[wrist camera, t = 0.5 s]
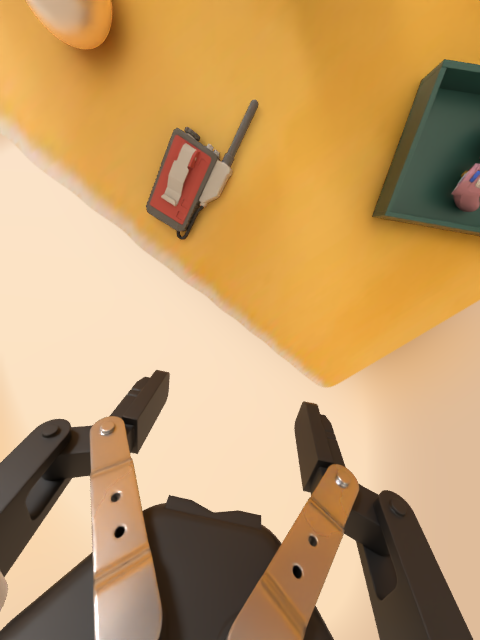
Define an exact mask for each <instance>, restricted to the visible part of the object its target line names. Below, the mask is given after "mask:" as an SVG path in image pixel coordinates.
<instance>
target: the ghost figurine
mask: <svg viewBox="0 0 480 640" xmlns="http://www.w3.org/2000/svg"><path fill="white" fill-rule="evenodd" d="M25 1H26V2H27V4H28V6H29V7H30V9H31V10H32V12H33V13H34V14H35V16H36V17H37V18H38V19H39V21H40V22H41V23H42V24H43V25H44V26H45V27H46V28H47V29H48V30H49V31H50V32H51V33H52V34H53V35H54V36H56V37H57V38H58V39H60V40H61V41H63V42H64V43H66V44H68V45H70V46H72V47H75V48H79V49H93V48H96V47H98V46H99V45H101V44H102V43H103V42H104V41H105V39H106V38H107V36H108V34H109V31H110V28H111V23H112V1H111V0H25Z"/></svg>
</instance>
